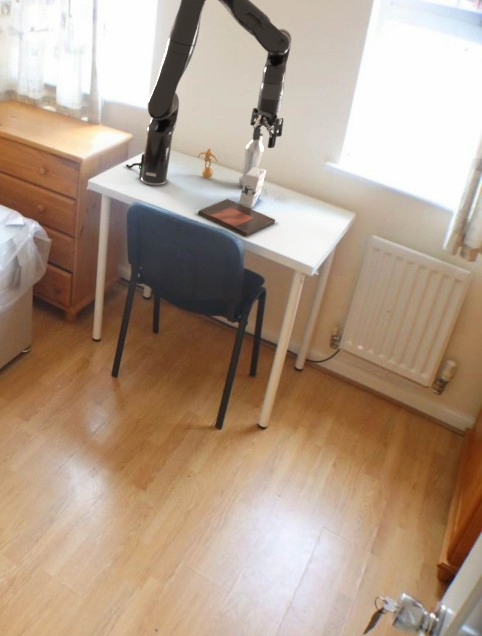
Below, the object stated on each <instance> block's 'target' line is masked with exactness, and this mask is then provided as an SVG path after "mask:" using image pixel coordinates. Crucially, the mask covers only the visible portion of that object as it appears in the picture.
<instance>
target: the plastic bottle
mask: <svg viewBox="0 0 482 636" xmlns="http://www.w3.org/2000/svg"><path fill="white" fill-rule="evenodd" d="M263 138H264V133H261V132H260V138H259V140H253V133H252V134H251V140H250V141H248V143H247V144H246V145H245V148H244V161H243V166H242V170H241V173H240V174H239V177H238V183H239V186H241V187H242V188H243V185H244V180H245V176H246V174H247V173H248V172H249V171H250V170H251V169H252V168H253V167H256V168H260V164H261V161H262V158H263V155H264V152H265V147H264V144H263V142H262V141H263Z"/></svg>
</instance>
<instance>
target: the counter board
mask: <svg viewBox="0 0 482 636" xmlns="http://www.w3.org/2000/svg"><path fill="white" fill-rule="evenodd" d="M197 215H198V216H200V217H202V218H204V219H206V220H209V221H210V222H212V223H215V224H217V225H219V226H222V227H224V228H226V229H227V230H230V231H232V232H234V233H236V234H239V235H241V236H243V237H245V238H247V237H250V236H252V235H253V234H256V233H257V232H259V231H262V230H265V229H266V228H269V227H270V226H273V225H274V224H275V222H276V219H275V218H272V217H270V216H267V215H266V214H264V213H261V212H259V211H256V210H254V209H252V208H247V207H245V206H243V205H240V204H239V202H236V201H234V200H231V199H229V198H225V199H224V200H221V201H217V202H216V203H214V204H211V205H209V206H206V207H204V208H202V209H199V210H198V212H197Z"/></svg>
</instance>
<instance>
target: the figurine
mask: <svg viewBox="0 0 482 636" xmlns="http://www.w3.org/2000/svg"><path fill="white" fill-rule="evenodd" d="M211 151H212V149H211V148H208V149H207V150H205V151H202V152H199V153H198V155H197V159H199V158H200V156H201V155H204V156H205V157H204V158H203V160H204V162H205V163H204V168H203V169H202V171H201V175H202V177H203V178H205V179H210V178H212V176H213V175H214V174H213V173H214V172H213V169H212V168H211V165H212V163H213V162H212V158H214V160H215V161H216V162H217V163H219V161H218V159H217V157H216V156H215V155H213V153H212V152H211ZM211 157H212V158H211ZM208 163H209V164H208ZM207 165H208V167H207Z"/></svg>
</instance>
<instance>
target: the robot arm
mask: <svg viewBox="0 0 482 636" xmlns="http://www.w3.org/2000/svg"><path fill="white" fill-rule="evenodd" d="M206 1H207V0H180V4H179V7H178V10H177V12H176V15H175V18H174V20H173V23H172V27H171V28H170V32H169V36H168V39H167V41H166V45H165V50H164V53H163V57H162V60H161V65H160V67H159V72H158V76H157V78H156V79H157V80H156V82H155V84H154V86H153V89H152V92H151V94H150V96H149V98H148V101H147V113H148V115H149V117H150V118H151V119H150V121H149V124H148V126H147V128H146V136H145V145H144V153H142V154H141V157H140V158H141V159H140V162H134V163H132V164H131V165H129V164H125V167H126V168H128V169H132V168H133V167H135V166H138V170H139V174H138V175H139V176H138V179H139V180H140V181H141V182H142V183H143V184H145V185H148V186H153V187H154V186H155V187H160V186H164V185H166V184H167V177H168V170H169V163H170V157H171V149H172V143H173V137H174V136H173V135H174V132H175V129H176V126H177V120H178V115H179V108H180V99H179V96H178V94H177V89H178V86H179V84H180V81H181V79H182V78H183V75H185V74H184V73H185V72H186V70H187V68H188V66H189V65H190V62H191V60H192V57H193V55H194V52H195V49H196V46H197V43H198V40H199V39H198V38H199V35H200V26H201V17H202V13H203V10H204V7H205V5H206ZM217 1H218V3H219V2H220V4H221V5H222V6H223V7H224V8H225V9H226V11H227V12H228V13H229V15H230V16H231V18H233V19H234V21H235V22H236V23H237V24H238V25H239V26H240V27H242V28H243V29H244V30H245V31H246V32H247V33H249V35H251V36H252V37H253V38H255V40H256V41H257V42H258V44H259V45H260V46H261V47H262V49H264V50H265V51H266V61H265V63H264V66H263V70H262V78H261V82H260V86H259V93H258V99H257V104H256V105H257V106H256V107H253V108H252V112H251V116H250V117H251V118H250V124H249V125H250V126H252V128H253V132H252V134H253V140H259V138H260V133H261V131H262V127H265V128H266V131H267V132H268V135H269V137H268V143H267V149H273V148H275V146H276V142H277V138H279V137H280V138H281V137H282V136H283V126H284V118H283V117H278V113H279V112H280V111H281V110H282V102H283V97H284V92H285V91H284V90H285V81H286V74H287V63H288V60H289V56H290V51H291V46H292V35H291V33H290V32H289V30H287V29H285V28H277V26H276V25H274V24H273V23H272V21H271V18H270V17H269V16H268V15H267V14H266V13H265V12H264V11H262V10H261V8H259V7H258V6H257V5H256V4H255V3H254V2H252V1H251V0H217Z"/></svg>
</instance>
